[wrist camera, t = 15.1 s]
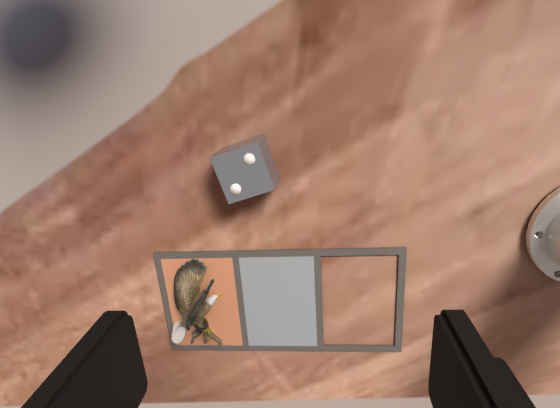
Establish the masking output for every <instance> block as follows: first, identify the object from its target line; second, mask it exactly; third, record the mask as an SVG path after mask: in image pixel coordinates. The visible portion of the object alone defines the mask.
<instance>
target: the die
mask: <svg viewBox="0 0 560 408" xmlns="http://www.w3.org/2000/svg"><path fill="white" fill-rule="evenodd" d="M210 160H211V163H212V165H213V168H214V170H215V173H216V175H217V177H218V180H219V182H220V185H221V187H222V189H223V192H224V194H225V197H226V199H227V201H228V204H231V203H235V202H238V201H241V200H244V199H247V198H251V197H254V196H257V195H260V194H263V193H267V192H270V191H273V190H275V188H276V186H277V183H278V180H279V177H280V176H279V174H278V171H277V168H276V165H275V163H274V160H273V157H272V154H271V151H270V149H269V146H268V143H267V140H266V138H265V135H264V134H262V135H259V136H256V137H253V138H250V139H247V140H244V141H241V142H239V143H236V144H233V145H230V146H227V147H224V148H221V149H220V150H219V151H218V152H217V153H215V154H214V155H213V156H212V157H210Z"/></svg>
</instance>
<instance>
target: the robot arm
mask: <svg viewBox="0 0 560 408" xmlns="http://www.w3.org/2000/svg"><path fill="white" fill-rule="evenodd" d="M526 246H527V250H528V254H529V256H530V258H531V260H532V262H533V263H534V264H535V265H536V266H537V267H538V268H539V269H540V270H541V271H542V272H543V273H545V274H546V275H547V276H549V277H550V278H552V279H554V280H556V281H559V282H560V187H558V188H557V189H556V190H554V191H553V192H552V193H551V194H549V195H548V196H547V197H546V198H545V199H544V200H543V201H542V202H541V203H540V204H539V206H538V207H537V209H536V210H535V212H534V213H533V215H532V217H531V219H530V221H529V224H528V228H527V232H526ZM146 390H147V377H146V373H145V369H144V364H143V360H142V356H141V352H140V347H139V343H138V339H137V335H136V330H135V326H134V322H133V318H132V317H131V316H130V315H128V314H127V312H126V311H106V312H105V313H103V314H102V316H101V317H100V318H99V319H98V320H97V321H96V322H95V324H94V325H93V326H92V327H91V328H90V329H89V331H88V332H87V333H86V334H85V335H84V336H83V337H82V339H81V340H80V341H79V342H78V343H77V344H76V345H75V347H74V348H73V349H72V350H71V351H70V352H69V353H68V355H67V356H66V357H65V358H64V359H63V360H62V361H61V363H60V364H59V365H58V366H57V367H56V368H55V369H54V371H53V372H52V373H51V374H50V375H49V376H48V377H47V379H46V380H45V381H44V382H43V383H42V384H41V385H40V387H39V388H38V389H37V390H36V391H35V392H34V393H33V395H32V396H31V397H30V398H29V399H28V400H27V401H26V403H25V404H24V405H23V406H22V407H21V408H138V406H139V405H140V403H141V401H142V399H143V397H144V395H145V393H146ZM429 396H430V399H431V402H432V405H433V408H536V407H534V404H533V403H532V401H531V400H530V398H529V397H528V395H527V394H526V392H525V391H524V389H523V388H522V386H521V385H520V383H519V382H518V380H517V379H516V377H515V376H514V374H513V373H512V371H511V369H510V368H509V366H508V365H507V364H506V362H505V361H504V360H503V359H501V358H494V357H493V356H492V354H491V353H490V351H489V349H488V348H487V346H486V345H485V343H484V341H483V340H482V338H481V337H480V335H479V334H478V332H477V330H476V329H475V327H474V326H473V324H472V322H471V321H470V319H469V318H468V316H467V314H466V313H465V312H464V310H442V311H441V314H440V315H435V317H434V327H433V338H432V350H431V362H430V374H429Z"/></svg>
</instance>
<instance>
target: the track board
mask: <svg viewBox="0 0 560 408" xmlns="http://www.w3.org/2000/svg"><path fill="white" fill-rule="evenodd" d="M406 250H407V248H406V247H387V248H338V249H288V250H239V251H190V252H154V253H153V255H154V260H155V265H156V270H157V275H158V280H159V285H160V290H161V295H162V300H163V305H164V310H165V315H166V320H167V325H168V330H169V335H170V340H171V345H172V350H247V351H363V352H401V347H402V327H403V308H404V289H405V270H406ZM355 255H398V278H397V300H396V323H395V345H323V316H322V286H321V256H355ZM191 259H195V260H196V259H198V260H199V261H200V262H203V263H204V265H205V266H207V269H206V272H205V274H204V277H203V279H202V281H201V285H200V291H199V293H200V292H202V291H203V290H205V289H206V288H207V286H208V285H209V283H210V281H211V279H214V283H213V285H212V286H211V288H210V290H209V294H208V296H207V298H206V299H208V298H209V297H210V296H211V295H213V294H221V296H219V297H218V298H217V300H216V301H215V303H214V304H213V306H212V307H211V309H210V310H209V312H208V313H207V314H206V315H205V316H204V317H203V318H206V319H207V321H208V324H209V328H210V330H211V331H212V332H213V333H214V334H215V335H217V336H218V337H219V338H220V339H221V340H222V343H223V345H224V347H220V346H219V344H218V343H217V342H216V341H215V340H213V339H211V338H210V339H209V341H208V343H206V344H204V342H203V334H202V333H201V335H200V336H198V337H197V338H196V339H195V340H194V342H193V344H192V345H191V343H190V342H191V339H192V335H193V334H192V331H194V330H195V329H196V328H195V327H194V326H193V325H192V326H191V327H190V331H188V330H187V332H186V335H185V337H184V339H183V341H182V342H181V343H179V344H176V343H173V341H172V339H171V338H172V331H173V326H174V324H175V323H176V322H177V321H180V320H182V316H181V314H180V313H179V311H178V310H177V308H176V305H175V301H174V278H175V274H176V272H177V270H178V268H181V265H185V263H186V261H190V260H191Z"/></svg>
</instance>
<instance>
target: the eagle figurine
mask: <svg viewBox="0 0 560 408" xmlns="http://www.w3.org/2000/svg"><path fill="white" fill-rule="evenodd" d="M206 269H207V266H205V265H204V263H203V262H200V261H199V260H198V259H196V260H195V259H191V260H190V261H186V263H185V265H181V268H178V270H177V272H176V274H175V278H174V301H175V305H176V308H177V310H178V311H179V313H180V314H181V316H182V320H180V321H177V322H176V323H175V324H174V326H173V331H172V338H171V339H172V341H173V343H176V344H179V343H181V342H182V341H183V339H184V337H185V335H186V332H187V330H188V331H190V327H191V326H192V325H193V326H194V327H195V328H196V329H195V330H194V331H192V334H193V335H192V339H191V342H190V343H191V345H192V344H193V342H194V340H195V339H196V338H197V337H198V336H200V335H201V333H202V334H203V342H204V344H206V343H208V341H209V339H210V338H211V339H213V340H215V341H216V342H217V343H218V344H219V346H220V347H224V345H223V343H222V340H221V339H220V338H219V337H218V336H217V335H215V334H214V333H213V332H212V331H211V330H210V328H209V324H208V321H207V319H206V318H203V317H204V316H205V315H206V314H207V313H208V312H209V310H210V309H211V307H212V306H213V304H214V303H215V301H216V300H217V298H218V297H219V296H221V294H213V295H211V296H210V297H209V298H208V299H206V298H207V296H208V294H209V290H210V288H211V286H212V285H213V283H214V279H211V281H210V283H209V285H208V286H207V288H206V289H205V290H203V291H202V292H200V293H199V291H200V285H201V281H202V279H203V277H204V274H205V272H206Z"/></svg>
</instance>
